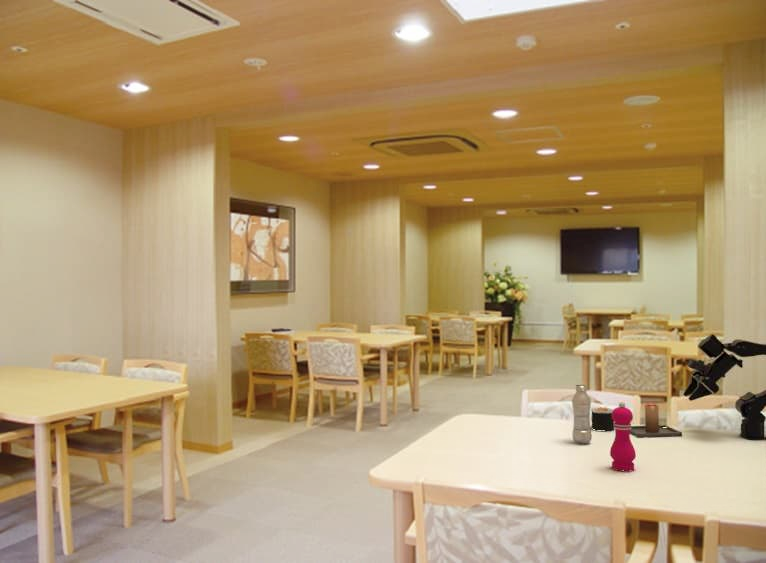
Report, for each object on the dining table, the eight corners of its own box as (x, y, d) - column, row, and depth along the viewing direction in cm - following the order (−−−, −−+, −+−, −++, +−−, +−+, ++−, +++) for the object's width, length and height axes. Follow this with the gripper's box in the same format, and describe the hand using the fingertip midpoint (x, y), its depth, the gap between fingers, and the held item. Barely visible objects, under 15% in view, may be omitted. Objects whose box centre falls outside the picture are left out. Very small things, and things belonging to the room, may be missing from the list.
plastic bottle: (571, 444, 226) (570, 386, 226) (573, 439, 232) (572, 383, 232) (591, 446, 223) (589, 387, 223) (592, 441, 229) (591, 384, 229)
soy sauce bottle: (658, 430, 241) (658, 402, 241) (659, 433, 237) (658, 405, 237) (645, 429, 243) (644, 402, 243) (645, 432, 238) (645, 404, 238)
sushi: (612, 427, 251) (612, 406, 251) (615, 432, 242) (614, 410, 242) (590, 426, 252) (590, 405, 252) (592, 431, 244) (592, 409, 244)
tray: (665, 428, 246) (665, 424, 246) (681, 436, 234) (681, 432, 234) (623, 430, 245) (623, 426, 245) (638, 437, 233) (638, 433, 233)
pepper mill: (637, 472, 192) (636, 404, 192) (612, 471, 194) (610, 404, 194) (633, 465, 200) (632, 400, 199) (608, 464, 201) (607, 399, 201)
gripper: (696, 348, 243) (665, 377, 246) (708, 354, 225) (674, 385, 228) (720, 369, 241) (688, 399, 244) (733, 377, 223) (699, 408, 226)
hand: (686, 397), depth 235 cm, fingers open, 9 cm apart
